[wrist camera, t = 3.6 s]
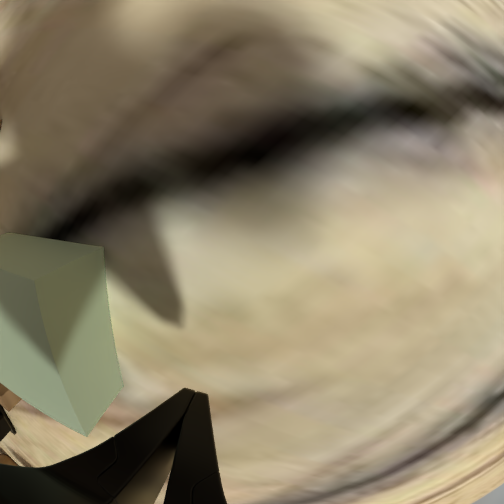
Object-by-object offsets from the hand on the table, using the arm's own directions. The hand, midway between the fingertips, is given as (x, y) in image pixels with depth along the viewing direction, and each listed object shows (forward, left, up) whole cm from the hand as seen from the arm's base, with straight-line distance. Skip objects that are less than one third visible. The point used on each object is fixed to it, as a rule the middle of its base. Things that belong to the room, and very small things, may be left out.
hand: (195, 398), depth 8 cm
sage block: (-8, 0, -2) cm, 8 cm away
